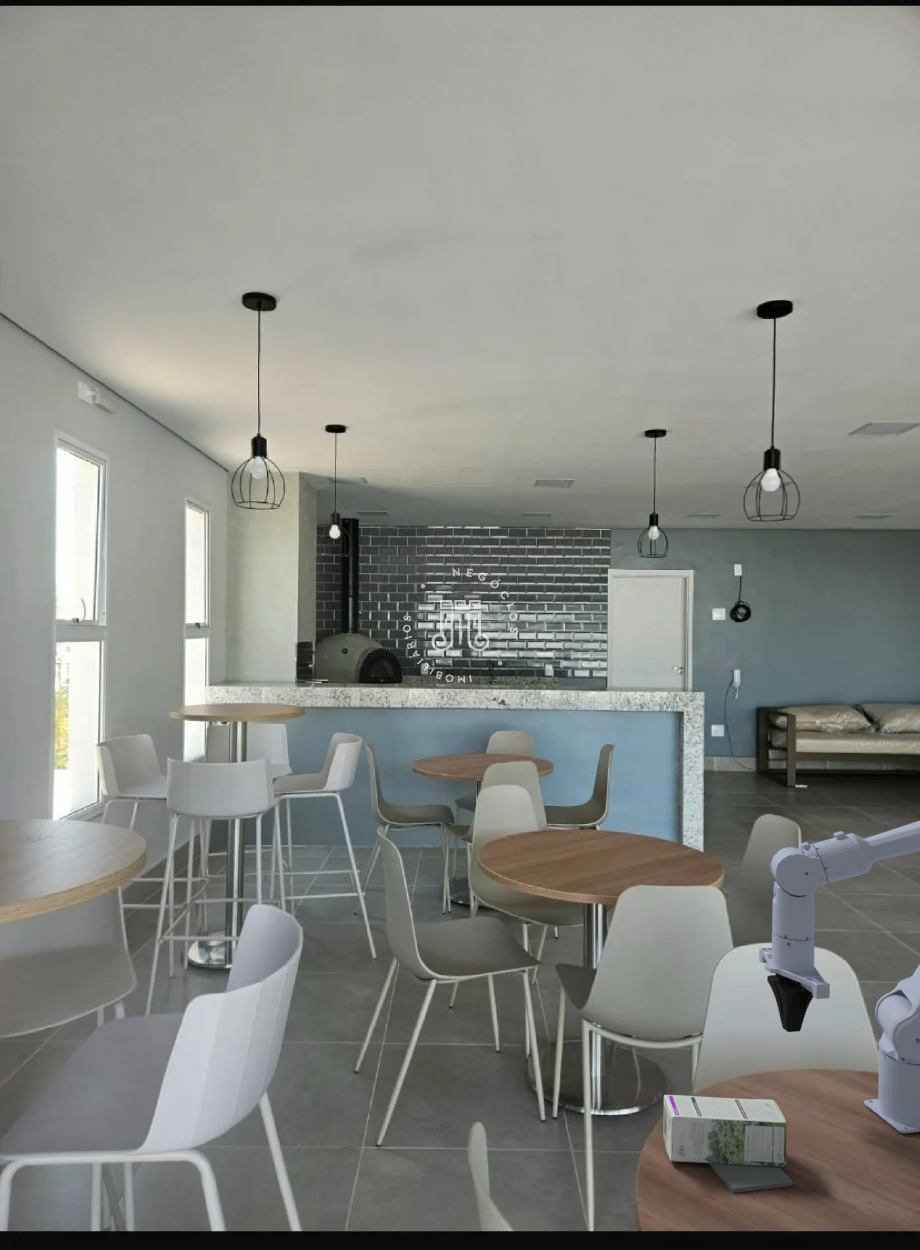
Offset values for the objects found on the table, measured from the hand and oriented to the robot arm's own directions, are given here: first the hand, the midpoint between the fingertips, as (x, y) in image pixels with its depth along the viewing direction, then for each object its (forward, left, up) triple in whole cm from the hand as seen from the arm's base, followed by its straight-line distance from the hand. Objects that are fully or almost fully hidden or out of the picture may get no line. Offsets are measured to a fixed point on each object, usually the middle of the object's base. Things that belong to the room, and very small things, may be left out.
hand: (791, 1029), depth 125 cm
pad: (+15, +13, -10) cm, 22 cm away
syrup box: (+9, +12, -7) cm, 17 cm away
